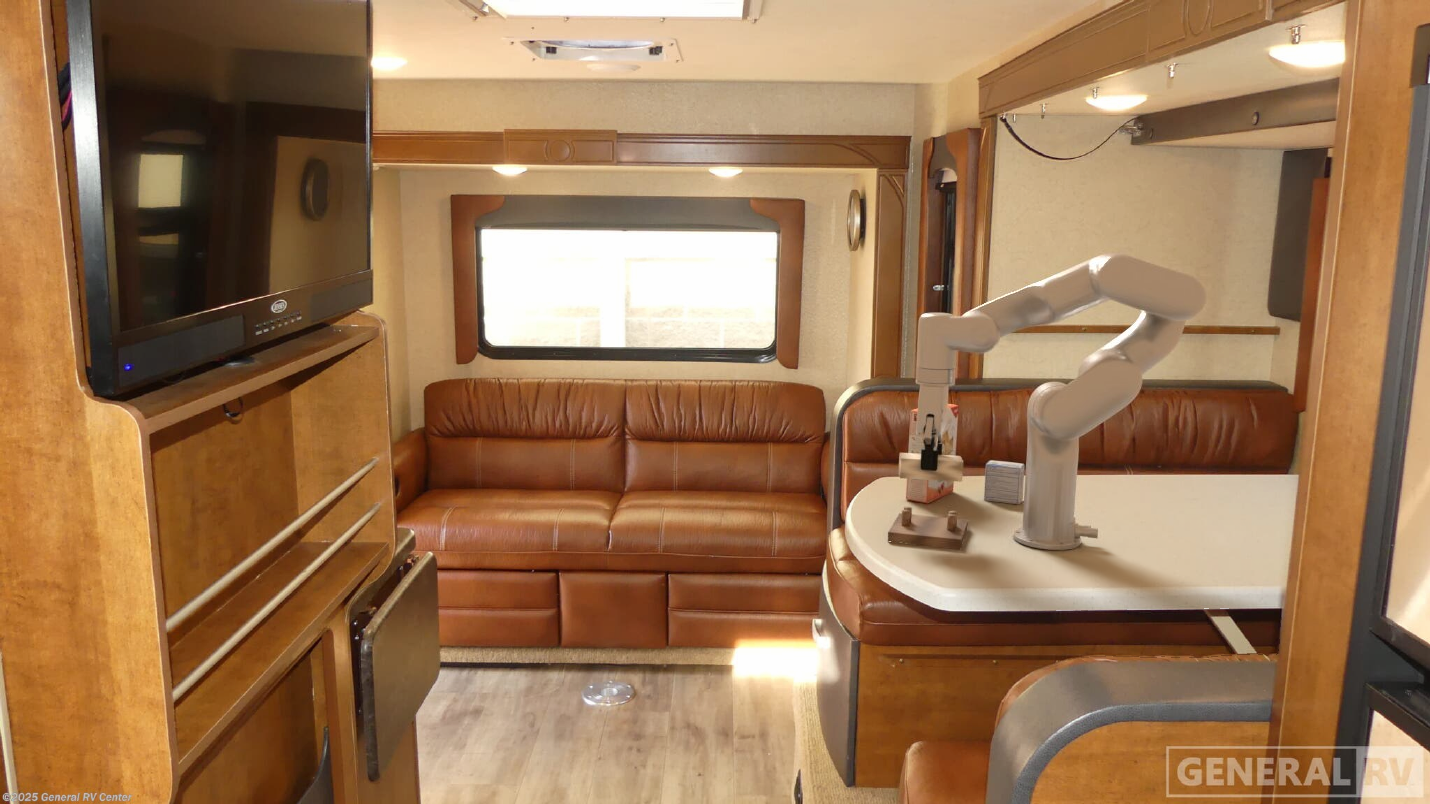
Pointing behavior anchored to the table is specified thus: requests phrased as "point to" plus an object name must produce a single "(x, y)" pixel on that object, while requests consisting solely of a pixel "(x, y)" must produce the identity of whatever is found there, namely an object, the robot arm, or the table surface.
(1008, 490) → the medicine box
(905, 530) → the peg board
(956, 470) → the beige wooden block
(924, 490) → the cracker box
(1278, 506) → the table surface
